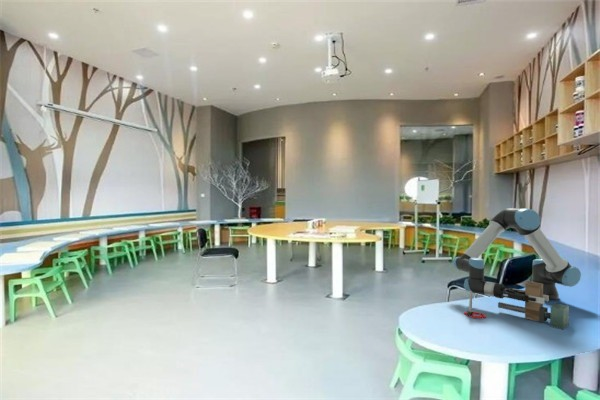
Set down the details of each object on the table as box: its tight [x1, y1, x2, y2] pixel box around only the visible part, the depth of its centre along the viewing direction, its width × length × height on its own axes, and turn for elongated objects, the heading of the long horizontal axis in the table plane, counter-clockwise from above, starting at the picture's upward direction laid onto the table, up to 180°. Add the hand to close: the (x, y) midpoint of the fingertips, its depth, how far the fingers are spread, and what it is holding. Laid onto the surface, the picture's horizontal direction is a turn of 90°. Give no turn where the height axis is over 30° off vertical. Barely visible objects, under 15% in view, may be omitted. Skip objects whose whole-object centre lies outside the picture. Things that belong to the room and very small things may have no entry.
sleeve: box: [524, 281, 544, 322], centre depth 172 cm, size 6×6×18 cm
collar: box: [538, 306, 549, 323], centre depth 169 cm, size 6×2×6 cm, turn 131°
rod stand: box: [497, 301, 570, 330], centre depth 173 cm, size 10×29×9 cm, turn 41°
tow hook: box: [463, 291, 487, 320], centre depth 177 cm, size 8×13×9 cm
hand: (546, 299), depth 168 cm, fingers closed on sleeve, 6 cm apart
